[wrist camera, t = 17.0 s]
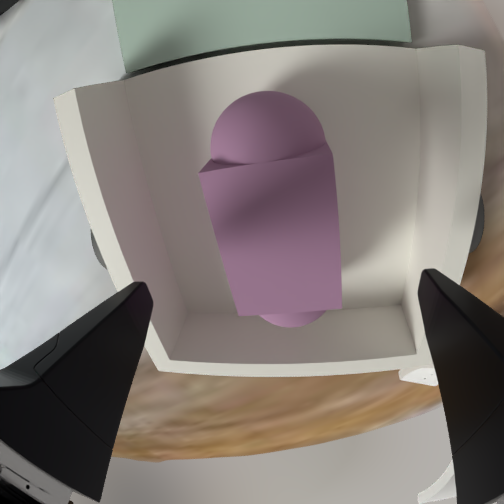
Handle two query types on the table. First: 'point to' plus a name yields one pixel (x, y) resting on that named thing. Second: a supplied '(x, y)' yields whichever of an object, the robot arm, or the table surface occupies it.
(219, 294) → the wagon bed
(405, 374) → the headphone stand
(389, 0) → the panel
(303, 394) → the table surface
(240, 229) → the dome-topped mauve block
